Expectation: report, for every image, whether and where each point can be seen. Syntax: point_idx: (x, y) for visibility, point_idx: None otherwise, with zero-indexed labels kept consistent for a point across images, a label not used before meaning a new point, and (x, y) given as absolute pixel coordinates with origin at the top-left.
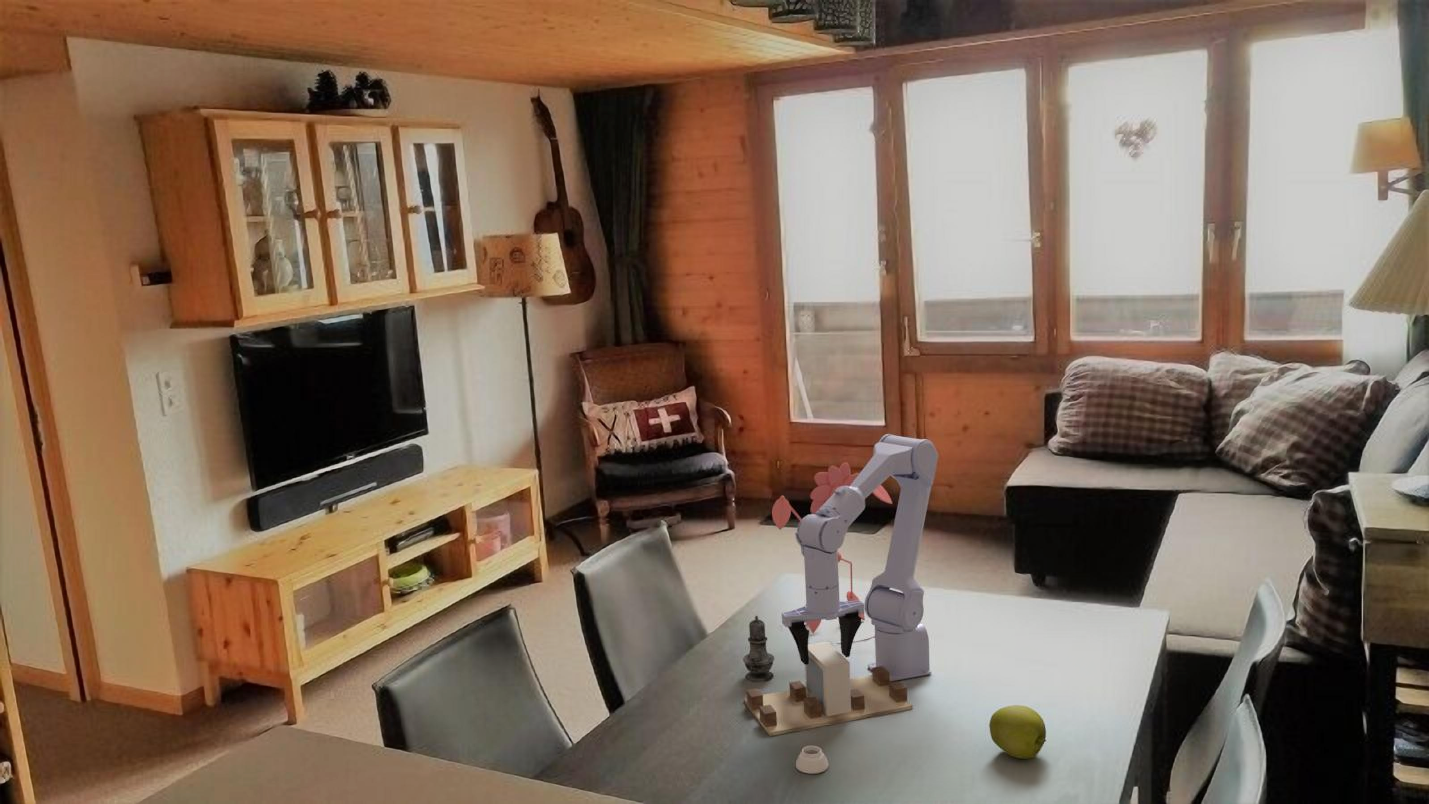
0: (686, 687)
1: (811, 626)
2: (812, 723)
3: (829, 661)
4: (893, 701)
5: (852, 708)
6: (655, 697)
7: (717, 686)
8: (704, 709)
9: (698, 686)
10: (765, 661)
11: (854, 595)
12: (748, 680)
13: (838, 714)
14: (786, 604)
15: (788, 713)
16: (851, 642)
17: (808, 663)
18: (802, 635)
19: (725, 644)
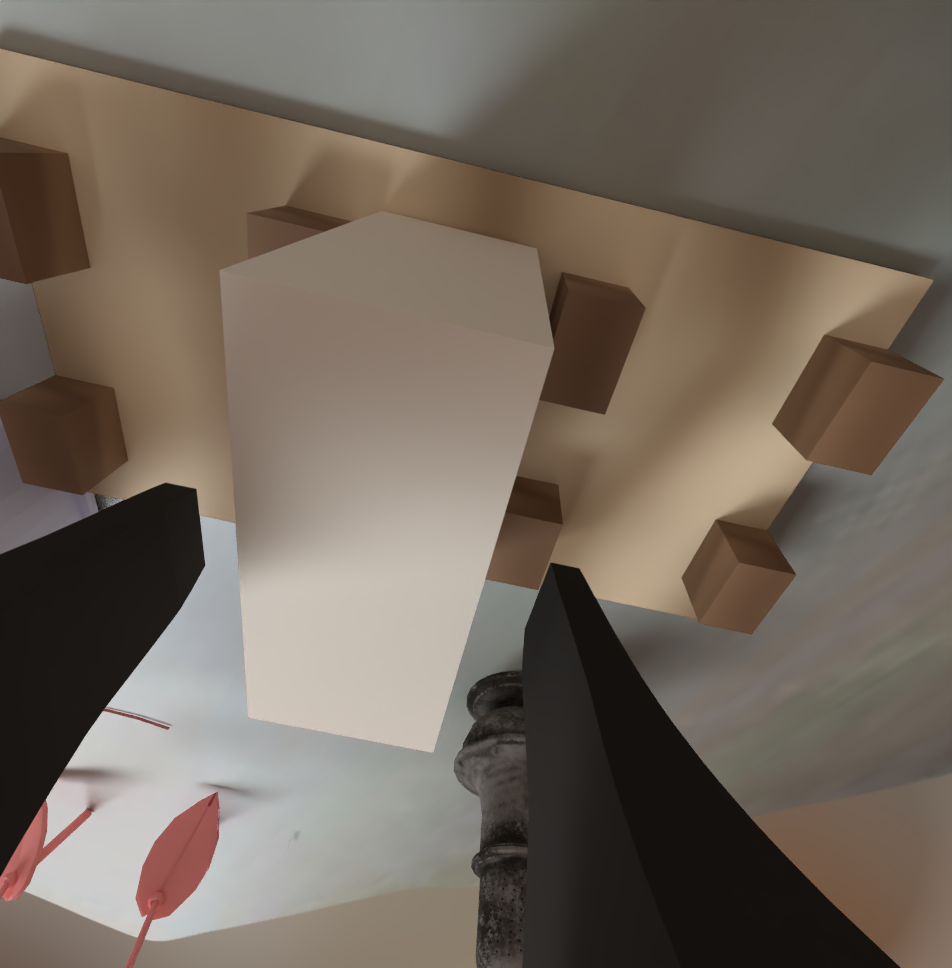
0: (761, 761)
1: (209, 816)
2: (659, 227)
3: (426, 434)
4: (84, 183)
5: None
6: (891, 764)
7: (680, 723)
8: (863, 639)
9: (727, 749)
10: (515, 749)
11: (3, 875)
12: None
13: None
14: (222, 891)
15: (670, 411)
16: (23, 552)
17: (553, 564)
18: (782, 929)
19: (475, 850)
